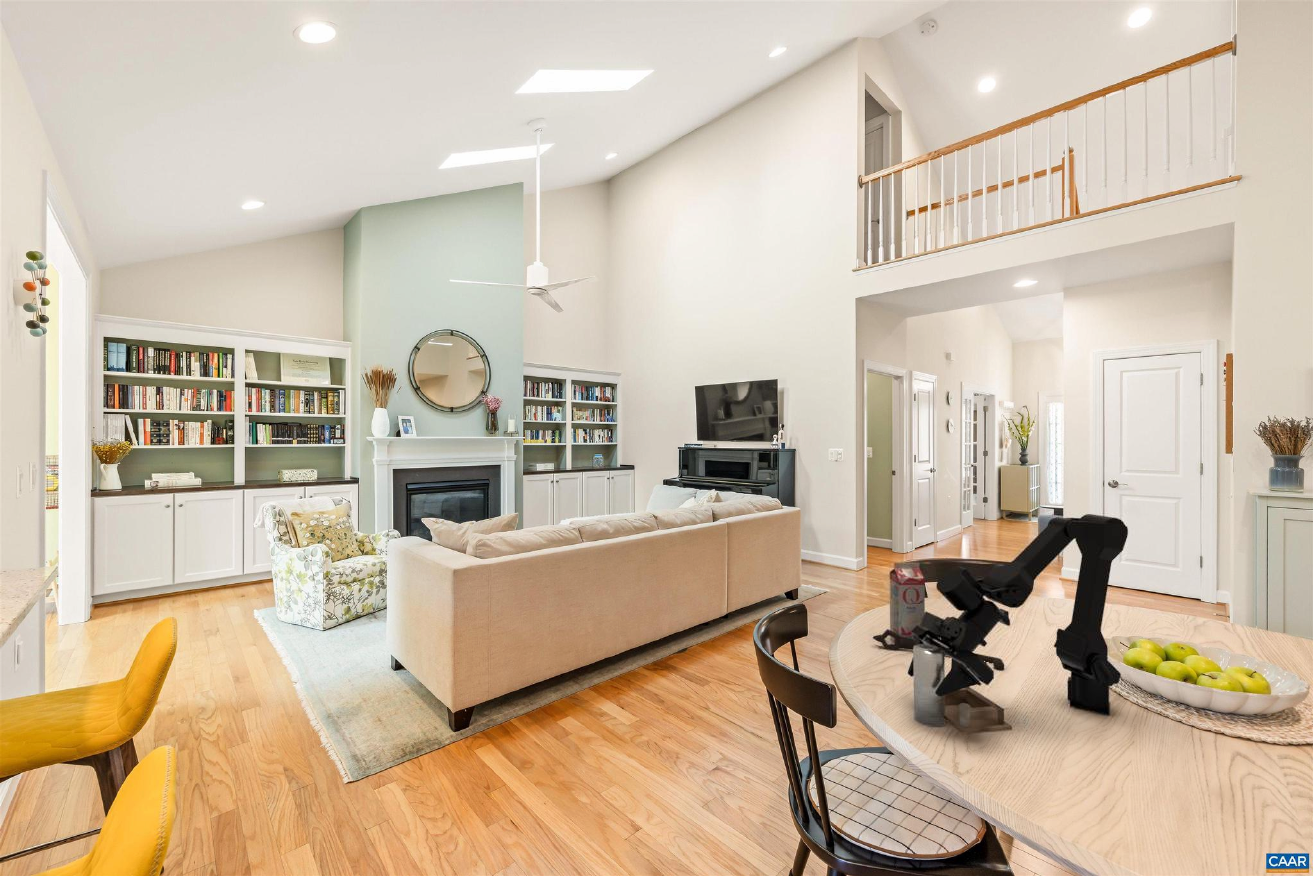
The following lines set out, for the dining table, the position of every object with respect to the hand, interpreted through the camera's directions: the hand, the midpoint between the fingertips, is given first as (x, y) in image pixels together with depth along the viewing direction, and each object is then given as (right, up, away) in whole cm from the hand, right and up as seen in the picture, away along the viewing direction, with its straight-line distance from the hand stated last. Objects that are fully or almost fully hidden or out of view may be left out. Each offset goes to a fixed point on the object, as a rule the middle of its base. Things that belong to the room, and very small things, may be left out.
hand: (922, 684), depth 114 cm
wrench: (+18, -7, +32) cm, 37 cm away
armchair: (+10, -7, +1) cm, 12 cm away
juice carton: (+15, -7, +41) cm, 45 cm away
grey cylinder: (+1, -7, 0) cm, 7 cm away
